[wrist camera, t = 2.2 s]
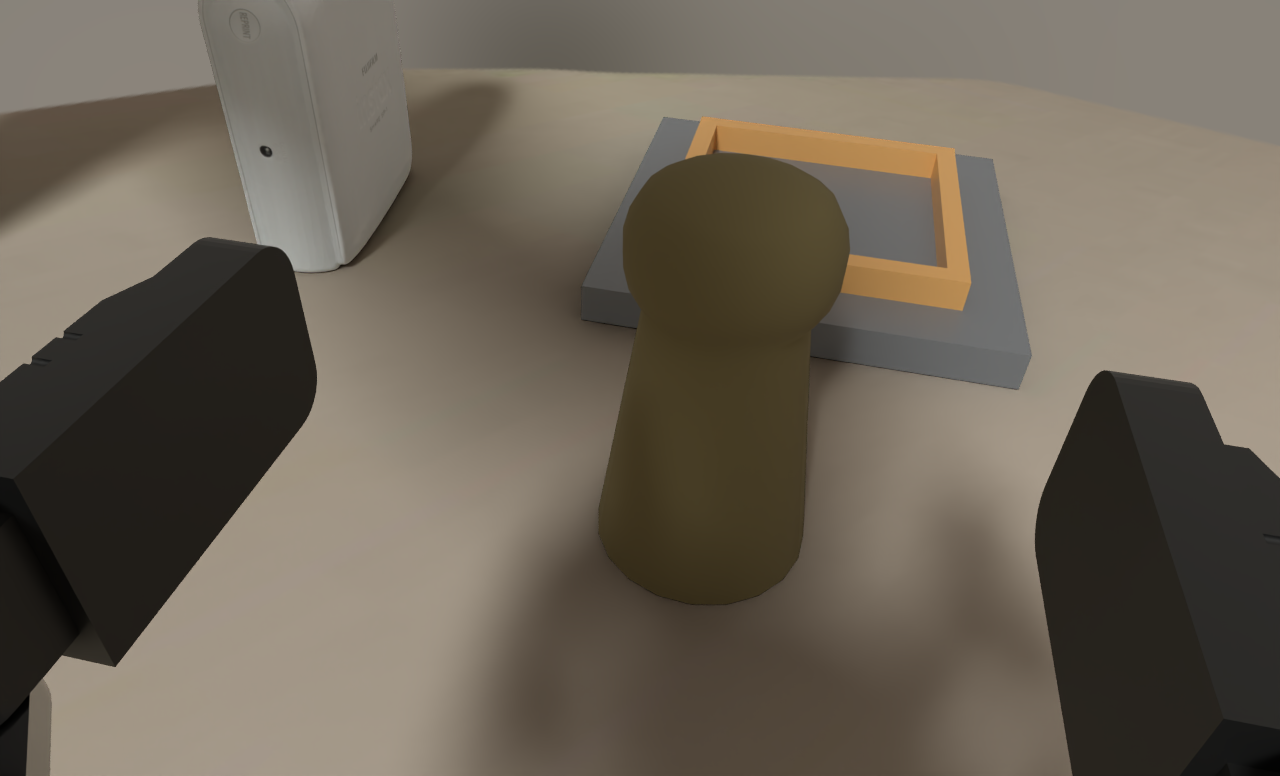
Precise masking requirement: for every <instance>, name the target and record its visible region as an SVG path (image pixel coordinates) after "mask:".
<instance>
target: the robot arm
mask: <svg viewBox="0 0 1280 776" xmlns="http://www.w3.org/2000/svg"><path fill="white" fill-rule="evenodd" d="M316 386H317V370H316V364H315V360H314V355H313V351H312V347H311V343H310V338H309V334H308V330H307V325H306V321H305V317H304V312H303V308H302V304H301V300H300V295H299V291H298V287H297V282H296V278H295V274H294V270H293V267H292V264H291V261H290V259H289V258H288V256H287V255H286V253H285V252H284V251H283V250H281V249H279V248H278V247H273V246H266V245H259V244H252V243H246V242H239V241H232V240H225V239H218V238H211V237H207V238H202V239H200V240H198V241H196V242H195V243H193V244H192V245H191V246H190V247H189V248H187V249H186V250H185V251H184V252H182V253H181V254H180V255H179V256H178V257H176V258H175V259H174V260H173V261H172V262H170V263H169V264H168V265H167V266H166V267H164V268H163V269H162V270H161V271H159V272H158V273H157V274H156V275H155V276H153V277H151V278H149V279H147V280H145V281H143V282H141V283H138V284H136V285H134V286H132V287H130V288H128V289H126V290H123V291H121V292H119V293H117V294H115V295H113V296H110V297H108V298H106V299H104V300H102V301H101V302H99V303H98V304H97V305H96V306H94V307H93V308H92V309H91V310H89V311H88V312H87V313H86V314H84V315H83V316H82V317H81V318H79V319H78V320H77V321H76V322H74V323H73V324H72V325H71V326H70V327H68V328H67V329H66V330H65V331H64V336H63V338H57V337H56V338H55V339H53V340H52V341H51V342H50V343H48V344H47V345H46V346H45V347H43V348H42V349H41V350H40V351H38V352H37V353H36V354H35V355H33V356H32V362H31V364H30V365H29V364H22V365H21V366H20V367H18V368H17V369H16V370H15V371H13V372H12V373H11V374H10V375H8V376H7V377H6V378H5V379H3V380H2V381H1V382H0V776H50V747H51V711H52V702H51V693H50V691H49V688H48V686H47V684H46V682H45V681H44V679H43V677H44V676H45V675H46V674H47V672H48V671H49V670H50V669H51V668H52V666H53V665H54V664H55V663H56V662H57V660H58V659H59V658H60V657H61V656H62V655H63V656H68V657H72V658H77V659H81V660H86V661H90V662H95V663H99V664H104V665H108V666H113V667H116V666H117V664H118V663H119V662H120V660H121V659H122V658H123V656H124V655H125V654H126V653H127V651H128V650H129V649H130V647H131V646H132V645H133V644H134V642H135V641H136V640H137V638H138V637H139V636H140V635H141V633H142V632H143V631H144V629H145V628H146V627H147V626H148V624H149V623H150V622H151V620H152V619H153V618H154V616H155V615H156V614H157V613H158V611H159V610H160V609H161V607H162V606H163V605H164V604H165V602H166V601H167V600H168V598H169V597H170V596H171V595H172V593H173V592H174V591H175V589H176V588H177V587H178V585H179V584H180V583H181V582H182V580H183V579H184V578H185V576H186V575H187V574H188V573H189V571H190V570H191V569H192V567H193V566H194V565H195V564H196V562H197V561H198V560H199V558H200V557H201V556H202V555H203V553H204V552H205V551H206V549H207V548H208V547H209V545H210V544H211V543H212V542H213V540H214V539H215V538H216V536H217V535H218V534H219V533H220V531H221V530H222V529H223V527H224V526H225V525H226V524H227V522H228V521H229V520H230V518H231V517H232V516H233V514H234V513H235V512H236V511H237V509H238V508H239V507H240V505H241V504H242V503H243V502H244V500H245V499H246V498H247V496H248V495H249V494H250V493H251V491H252V490H253V489H254V487H255V486H256V485H257V484H258V482H259V481H260V480H261V478H262V477H263V476H264V474H265V473H266V472H267V471H268V469H269V468H270V467H271V465H272V464H273V463H274V462H275V460H276V459H277V458H278V456H279V455H280V454H281V453H282V451H283V450H284V449H285V447H286V446H287V445H288V443H289V442H290V441H291V440H292V438H293V437H294V436H295V434H296V433H297V432H298V431H299V429H300V428H301V427H302V425H303V424H304V422H305V421H306V419H307V417H308V415H309V413H310V411H311V408H312V405H313V402H314V398H315V393H316ZM1035 552H1036V559H1037V565H1038V571H1039V577H1040V583H1041V589H1042V595H1043V601H1044V607H1045V613H1046V619H1047V625H1048V631H1049V637H1050V643H1051V649H1052V655H1053V661H1054V667H1055V673H1056V679H1057V685H1058V691H1059V697H1060V703H1061V709H1062V715H1063V721H1064V727H1065V733H1066V739H1067V745H1068V751H1069V757H1070V763H1071V769H1072V775H1073V776H1280V478H1279V477H1278V476H1277V475H1276V474H1275V473H1274V472H1273V471H1272V470H1271V469H1270V468H1269V467H1267V466H1266V465H1265V464H1264V463H1263V462H1262V461H1261V460H1260V459H1259V458H1258V457H1257V456H1256V455H1255V454H1254V453H1253V452H1252V451H1251V450H1250V449H1249V448H1243V447H1236V446H1230V445H1224V443H1223V441H1222V439H1221V436H1220V434H1219V432H1218V430H1217V427H1216V425H1215V423H1214V420H1213V418H1212V416H1211V413H1210V411H1209V409H1208V406H1207V404H1206V402H1205V400H1204V397H1203V395H1202V393H1201V391H1200V390H1199V388H1198V387H1197V386H1196V385H1194V384H1192V383H1188V382H1181V381H1175V380H1168V379H1161V378H1154V377H1147V376H1140V375H1134V374H1127V373H1120V372H1113V371H1105V370H1104V371H1101V372H1100V373H1098V374H1097V375H1096V376H1095V377H1094V379H1093V380H1092V382H1091V383H1090V385H1089V387H1088V389H1087V391H1086V393H1085V395H1084V398H1083V400H1082V402H1081V405H1080V407H1079V409H1078V412H1077V414H1076V416H1075V419H1074V421H1073V423H1072V425H1071V428H1070V430H1069V432H1068V435H1067V437H1066V439H1065V442H1064V444H1063V446H1062V449H1061V451H1060V453H1059V455H1058V458H1057V460H1056V462H1055V465H1054V467H1053V469H1052V472H1051V474H1050V476H1049V479H1048V481H1047V483H1046V485H1045V488H1044V491H1043V493H1042V497H1041V500H1040V504H1039V508H1038V513H1037V520H1036V529H1035Z"/></svg>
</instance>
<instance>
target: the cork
mask: <svg viewBox="0 0 1280 776" xmlns="http://www.w3.org/2000/svg"><path fill="white" fill-rule="evenodd" d="M849 254H850V239H849V228H848V225H847V223H846V221H845V218H844V216H843V213H842V211H841V209H840V206H839V204H838V202H837V199H836V197H835V195H834V193H833V192H831V191H830V190H829V189H828V188H827V187H826V186H825V185H824V184H823V183H822V182H821V181H820V180H818V179H816V178H815V177H813V176H812V175H810V174H808V173H806V172H804V171H802V170H801V169H799V168H797V167H795V166H793V165H791V164H788V163H785V162H781V161H778V160H775V159H772V158H768V157H762V156H756V155H750V154H739V153H716V154H707V155H699V156H695V157H692V158H688V159H685V160H682V161H679V162H676V163H673V164H670V165H667V166H666V167H664V168H663V169H661V170H659V171H658V172H656V173H655V174H653V175H652V176H651V177H650V178H649V179H648V181H647V182H646V183H645V185H644V186H643V187H642V188H641V190H640V191H639V193H638V194H637V196H636V197H635V199H634V200H633V202H632V204H631V205H630V207H629V210H628V213H627V216H626V219H625V223H624V226H623V269H624V273H625V277H626V281H627V285H628V289H629V291H630V293H631V294H632V296H633V297H634V299H635V301H636V302H637V304H638V306H639V307H640V309H641V312H640V317H639V321H638V326H637V331H636V335H635V340H634V345H633V350H632V354H631V359H630V364H629V368H628V373H627V378H626V383H625V387H624V392H623V397H622V401H621V406H620V411H619V415H618V420H617V425H616V430H615V434H614V439H613V444H612V448H611V453H610V458H609V463H608V467H607V472H606V477H605V481H604V486H603V491H602V495H601V500H600V505H599V535H600V538H601V540H602V543H603V545H604V547H605V550H606V552H607V554H608V557H609V558H610V559H611V560H612V561H613V562H614V563H615V565H616V566H617V567H618V568H619V569H620V570H621V571H622V572H623V573H624V574H625V575H626V576H627V577H628V578H629V579H630V580H632V581H633V582H635V583H637V584H639V585H640V586H642V587H644V588H646V589H647V590H649V591H651V592H653V593H654V594H656V595H658V596H662V597H665V598H669V599H673V600H677V601H681V602H684V603H688V604H730V603H734V602H737V601H741V600H744V599H748V598H752V597H755V596H759V595H760V594H762V593H763V592H765V591H766V590H768V589H769V588H771V587H772V586H774V585H775V584H777V583H778V582H780V581H781V580H783V579H784V577H785V576H786V575H787V573H788V572H789V570H790V569H791V568H792V566H793V565H794V563H795V562H796V561H797V559H798V557H799V552H800V547H801V542H802V537H803V521H804V496H805V471H806V446H807V421H808V396H809V371H810V346H811V329H813V328H814V327H815V326H816V325H817V324H818V323H819V322H820V321H821V320H822V319H823V318H824V317H825V316H826V315H827V314H828V313H829V312H830V310H831V308H832V306H833V304H834V303H835V301H836V299H837V297H838V295H839V294H840V292H841V289H842V284H843V280H844V276H845V272H846V267H847V263H848V258H849Z"/></svg>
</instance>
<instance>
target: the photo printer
mask: <svg viewBox="0 0 1280 776" xmlns="http://www.w3.org/2000/svg"><path fill="white" fill-rule="evenodd" d="M198 12H199V19H200V24H201V28H202V32H203V36H204V39H205V43H206V47H207V51H208V54H209V58H210V62H211V66H212V70H213V74H214V78H215V82H216V86H217V89H218V93H219V97H220V101H221V105H222V108H223V112H224V116H225V120H226V124H227V128H228V132H229V136H230V140H231V143H232V147H233V151H234V155H235V159H236V163H237V166H238V170H239V174H240V178H241V182H242V186H243V189H244V193H245V197H246V201H247V205H248V210H249V213H250V217H251V221H252V225H253V229H254V233H255V237H256V241H257V244H259V245H266V246H273V247H278V248H279V249H281V250H283V251H284V252H285V253H286V255H287V256H288V258H289V259H290V261H291V264H292V267H293V270H294V271H296V272H306V273H315V272H326V271H331V270H335V269H337V268H338V267H339V266H340V265H341V264H347V263H349V262H350V261H351V260H352V259H353V258H354V257H355V256H356V255H357V254H358V253H359V252H360V251H361V249H362V248H363V247H364V245H365V244H366V243H367V241H368V240H369V238H370V237H371V236H372V234H373V233H374V231H375V230H376V228H377V227H378V225H379V224H380V222H381V221H382V219H383V217H384V216H385V214H386V213H387V211H388V210H389V208H390V206H391V205H392V203H393V202H394V200H395V198H396V197H397V194H398V193H399V191H400V190H401V188H402V186H403V184H404V183H405V181H406V179H407V177H408V175H409V172H410V169H411V163H412V143H411V134H410V126H409V117H408V109H407V100H406V92H405V84H404V76H403V68H402V60H401V52H400V44H399V38H398V29H397V21H396V13H395V5H394V0H198Z"/></svg>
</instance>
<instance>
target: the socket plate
mask: <svg viewBox="0 0 1280 776" xmlns="http://www.w3.org/2000/svg"><path fill="white" fill-rule="evenodd" d="M716 153H739V154H750V155H756V156H762V157H768V158H772V159H775V160H778V161H781V162H785V163H788V164H791V165H793V166H795V167H797V168H799V169H801V170H802V171H804V172H806V173H808V174H810V175H812V176H813V177H815V178H816V179H818V180H820V181H821V182H822V183H823V184H824V185H825V186H826V187H827V188H828V189H829V190H830V191H831V192H833V193H834V195H835V197H836V199H837V202H838V204H839V206H840V209H841V211H842V213H843V216H844V218H845V221H846V223H847V225H848V228H849V239H850V254H849V258H848V263H847V267H846V272H845V276H844V280H843V284H842V289H841V292H840V294H839V295H838V297H837V299H836V301H835V303H834V304H833V306H832V308H831V310H830V312H829V313H828V314H827V315H826V316H825V317H824V318H823V319H822V320H821V321H820V322H819V323H818V324H817V325H816V326H815V327H814V328H813V329H811V346H810V356H813V357H819V358H826V359H832V360H838V361H844V362H850V363H857V364H863V365H869V366H875V367H882V368H888V369H894V370H900V371H907V372H913V373H919V374H925V375H931V376H938V377H944V378H950V379H956V380H963V381H969V382H975V383H981V384H988V385H994V386H1000V387H1006V388H1013V389H1019V387H1020V384H1021V382H1022V379H1023V377H1024V374H1025V372H1026V369H1027V367H1028V364H1029V362H1030V359H1031V356H1032V355H1031V349H1030V344H1029V339H1028V334H1027V329H1026V324H1025V319H1024V314H1023V309H1022V304H1021V299H1020V294H1019V289H1018V284H1017V279H1016V274H1015V269H1014V264H1013V259H1012V254H1011V249H1010V244H1009V239H1008V234H1007V229H1006V224H1005V219H1004V214H1003V209H1002V204H1001V199H1000V194H999V189H998V184H997V179H996V174H995V169H994V164H993V159H988V158H980V157H972V156H965V155H957V154H955V150H954V148H946V147H938V146H930V145H922V144H914V143H906V142H899V141H891V140H883V139H875V138H867V137H859V136H851V135H844V134H836V133H828V132H820V131H812V130H804V129H797V128H789V127H781V126H773V125H765V124H757V123H749V122H742V121H734V120H726V119H718V118H710V117H702V118H701V121H700V122H699V121H691V120H684V119H676V118H668V117H663V119H662V122H661V124H660V126H659V128H658V130H657V132H656V134H655V136H654V138H653V140H652V142H651V144H650V146H649V148H648V150H647V152H646V154H645V156H644V159H643V161H642V163H641V165H640V167H639V169H638V171H637V173H636V175H635V177H634V179H633V181H632V183H631V185H630V187H629V189H628V191H627V193H626V195H625V198H624V200H623V202H622V204H621V206H620V208H619V210H618V212H617V214H616V216H615V218H614V220H613V222H612V224H611V226H610V228H609V230H608V232H607V235H606V237H605V239H604V241H603V243H602V245H601V247H600V249H599V251H598V253H597V255H596V257H595V259H594V261H593V263H592V265H591V267H590V269H589V271H588V274H587V276H586V278H585V280H584V282H583V284H582V286H581V319H582V320H589V321H595V322H601V323H607V324H614V325H620V326H626V327H632V328H637V326H638V321H639V317H640V312H641V309H640V307H639V306H638V304H637V302H636V301H635V299H634V297H633V296H632V294H631V293H630V291H629V289H628V285H627V281H626V277H625V273H624V269H623V226H624V223H625V219H626V216H627V213H628V210H629V207H630V205H631V204H632V202H633V200H634V199H635V197H636V196H637V194H638V193H639V191H640V190H641V188H642V187H643V186H644V185H645V183H646V182H647V181H648V179H649V178H650V177H651V176H652V175H653V174H655V173H656V172H658V171H659V170H661V169H663V168H664V167H666V166H667V165H670V164H673V163H676V162H679V161H682V160H685V159H688V158H692V157H695V156H699V155H707V154H716Z"/></svg>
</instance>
